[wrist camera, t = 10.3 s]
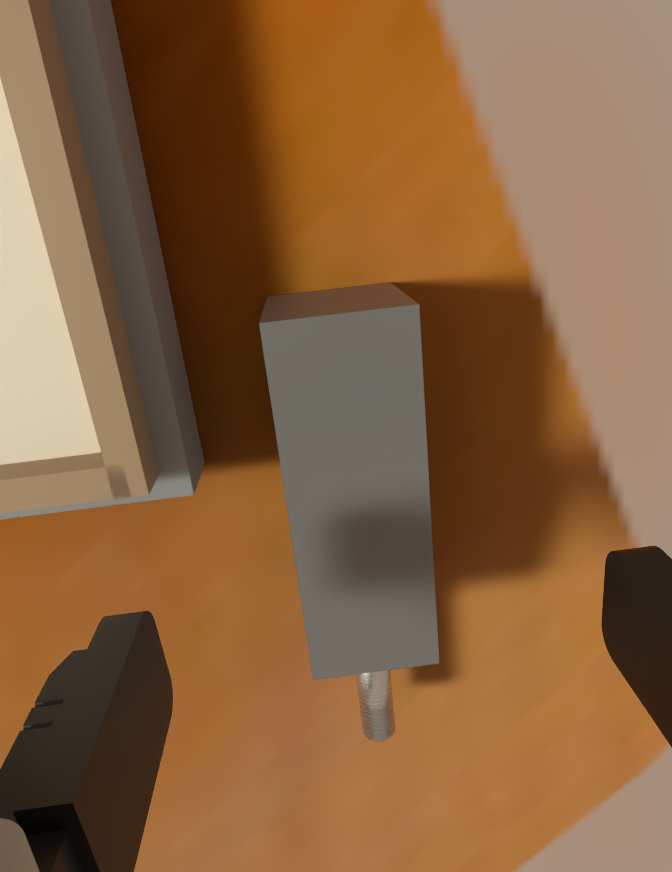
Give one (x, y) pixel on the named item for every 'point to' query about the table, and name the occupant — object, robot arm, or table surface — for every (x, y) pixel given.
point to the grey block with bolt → (356, 482)
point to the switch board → (82, 279)
